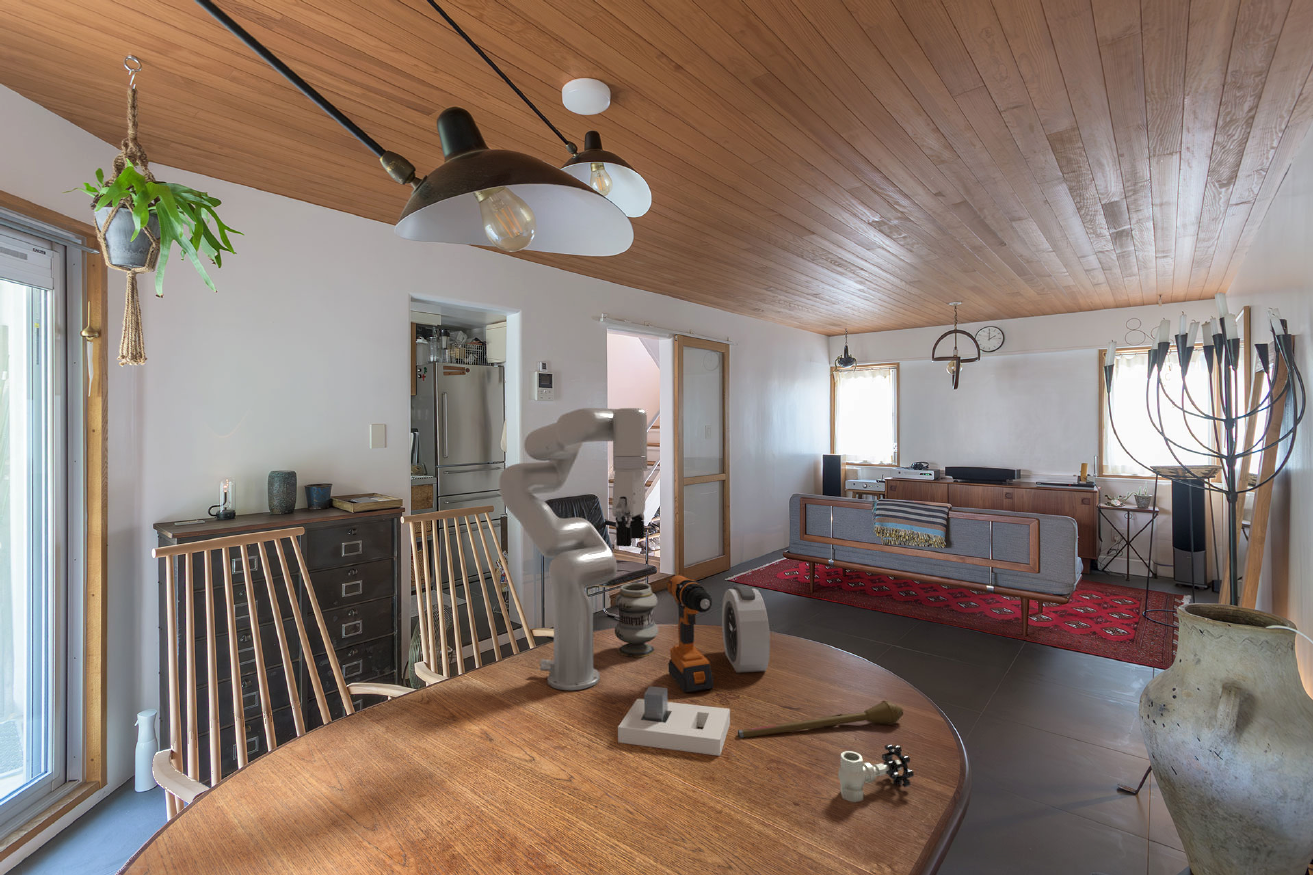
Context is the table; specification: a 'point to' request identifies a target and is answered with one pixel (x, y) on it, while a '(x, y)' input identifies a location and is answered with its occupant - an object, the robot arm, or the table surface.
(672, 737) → the hole board
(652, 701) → the square peg
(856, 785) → the valve
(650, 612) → the apothecary jar
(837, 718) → the olive long knobbed bar
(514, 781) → the table surface
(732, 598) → the alarm clock
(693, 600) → the power drill
